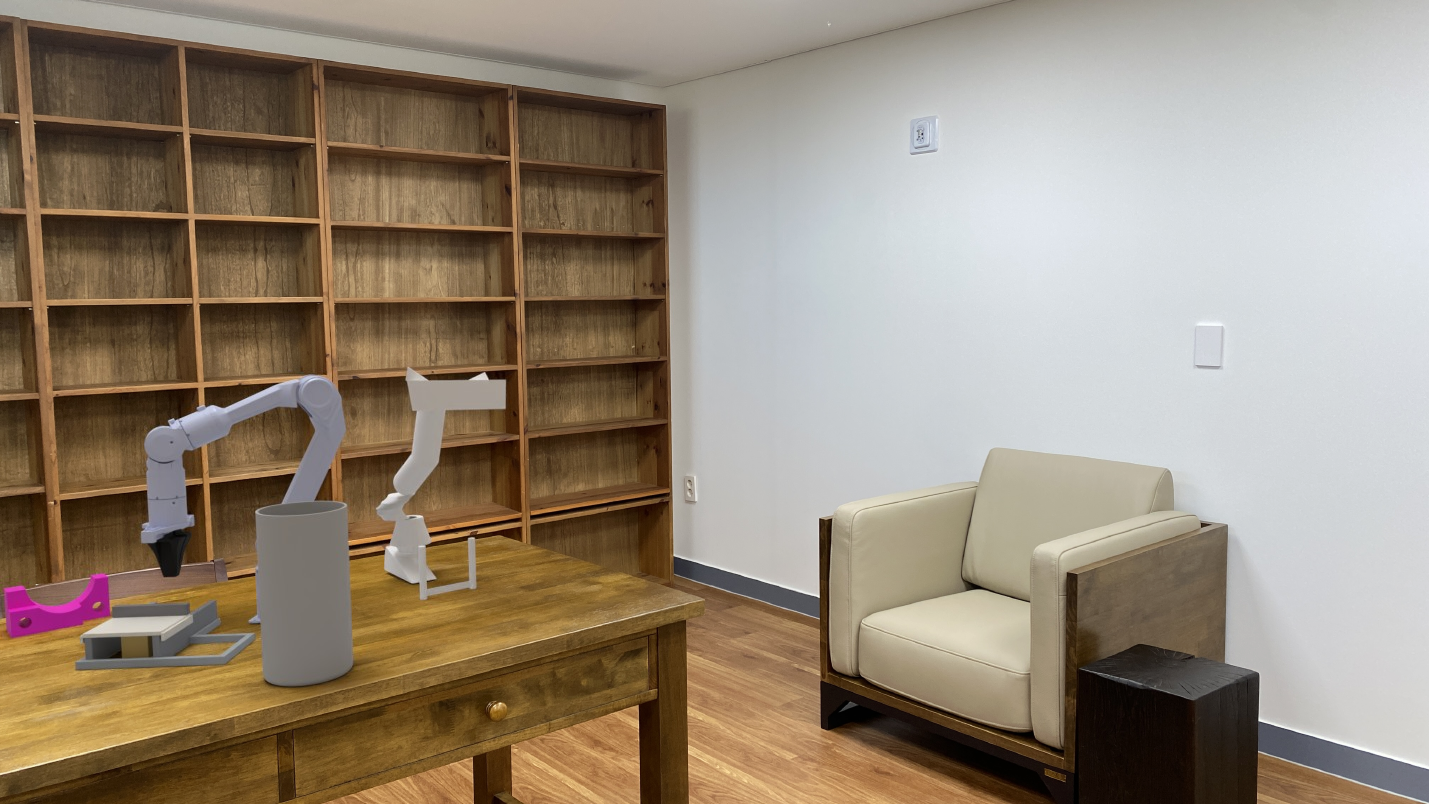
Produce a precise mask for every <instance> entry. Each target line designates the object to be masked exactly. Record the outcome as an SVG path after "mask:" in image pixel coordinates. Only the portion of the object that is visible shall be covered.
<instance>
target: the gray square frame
mask: <svg viewBox="0 0 1429 804" xmlns="http://www.w3.org/2000/svg"><path fill="white" fill-rule="evenodd" d="M217 603H218V602H217V599H210V600H209V601H207V602H205V603H204V604H202V605H200V606H198V607H197V608H196V609H194V610H192V611H190V615H193V623H191V624H190V625H188V626H186V627H185V628H183V629H182V630H180V631H179V632H177V633H176V634H174V635H173V636H171V637H169V638H168V639H166V640H165V641H161V635H156V636H152V642H153V657H148V658H122V657H121V658H110V657H112V656H114V655H115V654H117V653H119V652H121V651H122V646H121V637H98V638H85V639H84V640H85V643H84V653H85V654H84V655H85V656H83V657H82V658H79V659H78V660H77V661H74V667H75V671H78V670H79V671H80V670H84V671H85V670H104V669H105V670H106V669H107V670H108V669H133V668H134V669H137V668H157V667H158V668H161V667H162V668H163V667H186V666H187V667H189V666H190V667H192V666H193V667H194V666H213V665H214V666H216V665H218V666H219V665H226V664H227V663H228V662H230V661H231V660H232V659H233V658H235V657H236V656H237V655H238V654H240V652H242V651H243V650H245V648H246V647H248V646H249V645H250V644H252V643H253V642H254V641H255V640H256V633H255V632H250V633H249V632H247V633H245V632H242V633H216V634H215V633H214V634H213V633H211V634H209V633H210V632H212V631H214V629H216V628H218V627H219V626H221V622H222V621H221V618H218V604H217ZM148 604H158V601H150V602H149V603H148ZM221 643H222V644H223V643H234V644H232V645H231V646H230V647H229V648H227V649H226V650H225V651H224V652H222V653H221V654H209V655H205V654H204V655H203V654H202V655H180V656H179V655H178V656H176V654H178V653H179V652H182V650H184V649H185V648H187V647H188V646H190V645H200V644H221Z"/></svg>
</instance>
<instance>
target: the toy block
mask: <svg viewBox="0 0 1429 804" xmlns="http://www.w3.org/2000/svg"><path fill="white" fill-rule="evenodd" d="M3 595H4V596H3V597H4V599H3V600H4V610H5V614H4V615H5V626H6V632H7V633H8V635H9V636H10V638H11V639H13V638H14V639H15V638H20V637H24V636H29V635H34V634H40V633H48V632H50V631H56V630H62V629H67V628H72V627H77V626H83V625H84V622H85V621H90V620H95V619H102V618H105V617H111V605H110V604H111V603H110V587H109V576H108V575H107V574H105V573H96V574H91V575H90V579H89V582H88V585H87V586H86V588H85V590H83V592H82V593H81V594H80V595H79V596H78V597H77V598H75V599H73V600H71V601H69V602H67V603H64V604H61V605H44V604H41V603H38V602H36V601H34V600H33V599H31V598H30V596H29V595H28V592H27V589H26V588H25V587H24V585H18V586H12V587H10V586H9V587H5V588H3ZM97 603H99V604H98V606H97V607H94V605H95V604H97Z"/></svg>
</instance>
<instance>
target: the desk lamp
mask: <svg viewBox="0 0 1429 804" xmlns="http://www.w3.org/2000/svg"><path fill="white" fill-rule="evenodd" d="M405 381H406V383H407V388H408V395H409V400H410V406H411V411H413V412H416V415H415V422H414V429H413V431H414V432H413V440H412V448H411V453H410V455H409V456H408V458H407V459H406V461H405V462H404V464H402V465H401V467H400V468H399V469H398V471H397V473H396V474H395V475H394V477H393V479H392V480H393V483H392V484H393V487H394V490H395V492H393V493H389V494H387V497H386V498H385V499H384V500H382V501H381V502H380V504H379V505H378V506H377V507H376V508H375V510H376V515H377V516H379V517H381V520H383V521H384V522H385V521H386V522H394V521H395V525H394V528H393V531H392V536H391V539H390V543H389V545H388V546H385V552H384V565H383V566H384V567H383V570H385V571H386V572H389V573H390V574H392V575H394V576H396V577H398V578H400V579H403V581H406V582H408V583H411V584H417V583H419V599H420V601H424V600H428V596H434V595H438V594H443V593H449V592H452V591H453V592H454V591H458V590H463V589H469V590H475V589H477V565H476V563H477V562H476V538H475V537H468V538H467V543H468V544H467V545H468V546H467V547H468V548H467V549H468V551H467V553H468V580H467V581H461V582H456V583H452V584H447V585H440V586H436V587H431V588H428V582H427V581H432V580H436V579H437V577H436V576H435V574H434V573H433V572H432V570H431V568H429V566H428V564H427V552H426V551H427V550H426V548H427V547H426V545H429V544H431V543H432V539H431V537H430V534H429V531H428V528H427V526H426V523H425V519H424V516H423V515H419V514H411V515H410V514H409V515H408V514H405V512H404V511H403V508H404V506H405V504H406V503H408V502H409V501H410V499H411V498H412V497H413V496H415V495H416V492H417V491H418V489H419V488H420V487H421V486H422V484H423V483H424V482H425V481H426V479H427V478H428V477H429V476H430V474H432V472H433V471H434V469H435V468H436V467H437V466H438V464H439V462H440V454H441V447H442V439H443V433H444V425H445V418H446V411H468V410H469V411H470V410H473V411H474V410H506V408H507V407H506V405H507V404H506V401H507V400H506V399H507V398H506V397H507V393H506V392H507V390H506V388H507V379H489V377H488V375H487V374H486V372H485V371H484V372H481V373H480V374H478V375H476V376H474V377H471V378H470V379H454V380H450V379H449V380H447V379H445V380H441V379H440V380H438V379H435V380H432V379H431V380H429V379H428V378H426V377H424V375H422V374H421V373H418V372H417V371H415V370H414V369H413V368H411V367H410V366H407V369H406V376H405Z"/></svg>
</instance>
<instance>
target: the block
mask: <svg viewBox="0 0 1429 804" xmlns="http://www.w3.org/2000/svg"><path fill="white" fill-rule="evenodd" d="M121 646H122V650H121V658H148V657H153V642H152V636H127V637H121Z"/></svg>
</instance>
